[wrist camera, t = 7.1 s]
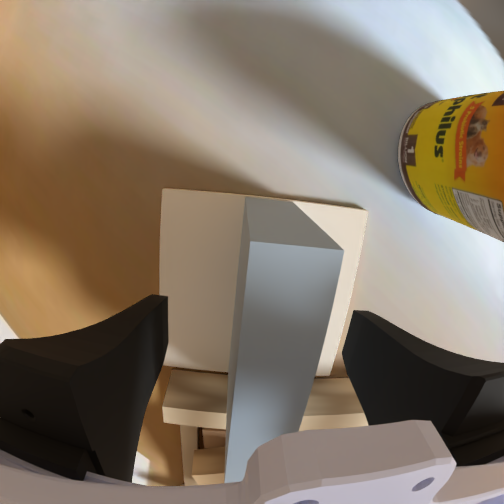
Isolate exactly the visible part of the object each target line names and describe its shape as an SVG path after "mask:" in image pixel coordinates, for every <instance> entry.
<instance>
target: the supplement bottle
mask: <svg viewBox="0 0 504 504" xmlns="http://www.w3.org/2000/svg"><path fill="white" fill-rule="evenodd" d="M398 162H399V168H400V173H401V176H402V179H403V181H404V184H405V186H406V187H407V189H408V191H409V193H410V194H411V195H412V197H413V198H414V199H415V200H416V201H417V202H418V203H419V204H420V205H421V206H423V207H424V208H426V209H427V210H429V211H431V212H433V213H435V214H438V215H441V216H444V217H446V218H449V219H451V220H454V221H456V222H458V223H461V224H463V225H466V226H468V227H470V228H472V229H475V230H477V231H480V232H482V233H484V234H487V235H489V236H491V237H494V238H496V239H498V240H500V241H502V242H504V91H498V92H490V93H483V94H475V95H469V96H463V97H457V98H452V99H446V100H441V101H436V102H432V103H428V104H425V105H423V106H421V107H420V108H418V109H417V110H416V111H415V112H413V113H412V115H411V116H410V117H409V118H408V120H407V121H406V123H405V125H404V127H403V129H402V132H401V135H400V139H399V145H398Z"/></svg>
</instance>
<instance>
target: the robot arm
mask: <svg viewBox="0 0 504 504" xmlns="http://www.w3.org/2000/svg"><path fill="white" fill-rule="evenodd" d="M168 342H169V338H168V296H162V295H153V294H152V295H150V296H148V297H146V298H144V299H143V300H141V301H139V302H138V303H136V304H134V305H132V306H131V307H129V308H127V309H125V310H124V311H122V312H120V313H118V314H116V315H114V316H112V317H110V318H108V319H106V320H104V321H102V322H99V323H97V324H94V325H91V326H89V327H86V328H83V329H80V330H76V331H72V332H68V333H64V334H60V335H55V336H49V337H41V338H31V339H5V340H4V341H3V342H2V343H1V344H0V504H504V363H499V362H490V361H485V360H479V359H474V358H470V357H466V356H463V355H459V354H456V353H453V352H450V351H447V350H444V349H442V348H439V347H437V346H434V345H432V344H430V343H427V342H425V341H423V340H421V339H419V338H417V337H415V336H413V335H412V334H410V333H408V332H406V331H404V330H403V329H401V328H399V327H397V326H396V325H394V324H392V323H390V322H389V321H387V320H385V319H383V318H382V317H380V316H378V315H376V314H374V313H372V312H369V311H358V310H354V311H353V314H352V318H351V322H350V326H349V330H348V333H347V337H346V340H345V344H344V347H343V351H342V355H343V360H344V364H345V367H346V371H347V374H348V376H349V379H350V381H351V383H352V386H353V388H354V390H355V393H356V395H357V397H358V400H359V402H360V404H361V406H362V409H363V411H364V414H365V416H366V419H367V422H368V426H361V427H350V428H336V429H316V430H304V431H299V432H293V433H287V434H282V435H280V436H278V437H276V438H274V439H272V440H270V441H268V442H266V443H264V444H262V445H260V446H258V447H257V449H256V450H255V451H254V453H253V454H252V456H251V457H250V458H249V460H248V461H247V467H246V472H245V476H244V478H243V480H242V481H240V482H231V483H221V484H209V485H192V486H145V485H140V484H135V483H132V476H133V469H134V463H135V457H136V451H137V446H138V441H139V436H140V431H141V427H142V423H143V418H144V414H145V411H146V407H147V404H148V402H149V399H150V396H151V394H152V391H153V389H154V386H155V384H156V381H157V379H158V376H159V373H160V371H161V368H162V366H163V363H164V359H165V355H166V351H167V347H168Z"/></svg>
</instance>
